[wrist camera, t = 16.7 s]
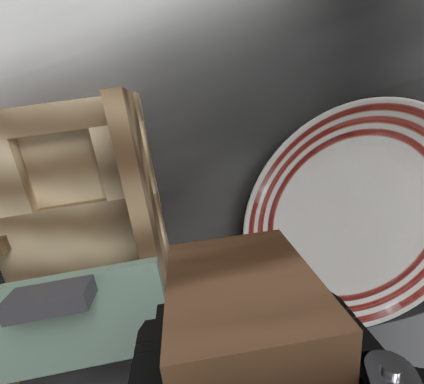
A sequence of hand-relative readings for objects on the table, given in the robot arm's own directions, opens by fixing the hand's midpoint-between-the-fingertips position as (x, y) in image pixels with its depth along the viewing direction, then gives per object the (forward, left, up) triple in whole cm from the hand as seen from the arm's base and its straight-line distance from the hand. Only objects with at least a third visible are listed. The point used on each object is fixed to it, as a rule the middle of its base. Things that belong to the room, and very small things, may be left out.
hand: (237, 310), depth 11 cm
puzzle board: (+2, -13, -19) cm, 23 cm away
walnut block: (0, 0, -2) cm, 2 cm away
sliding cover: (+8, -13, -12) cm, 19 cm away
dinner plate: (+7, +17, -19) cm, 27 cm away
